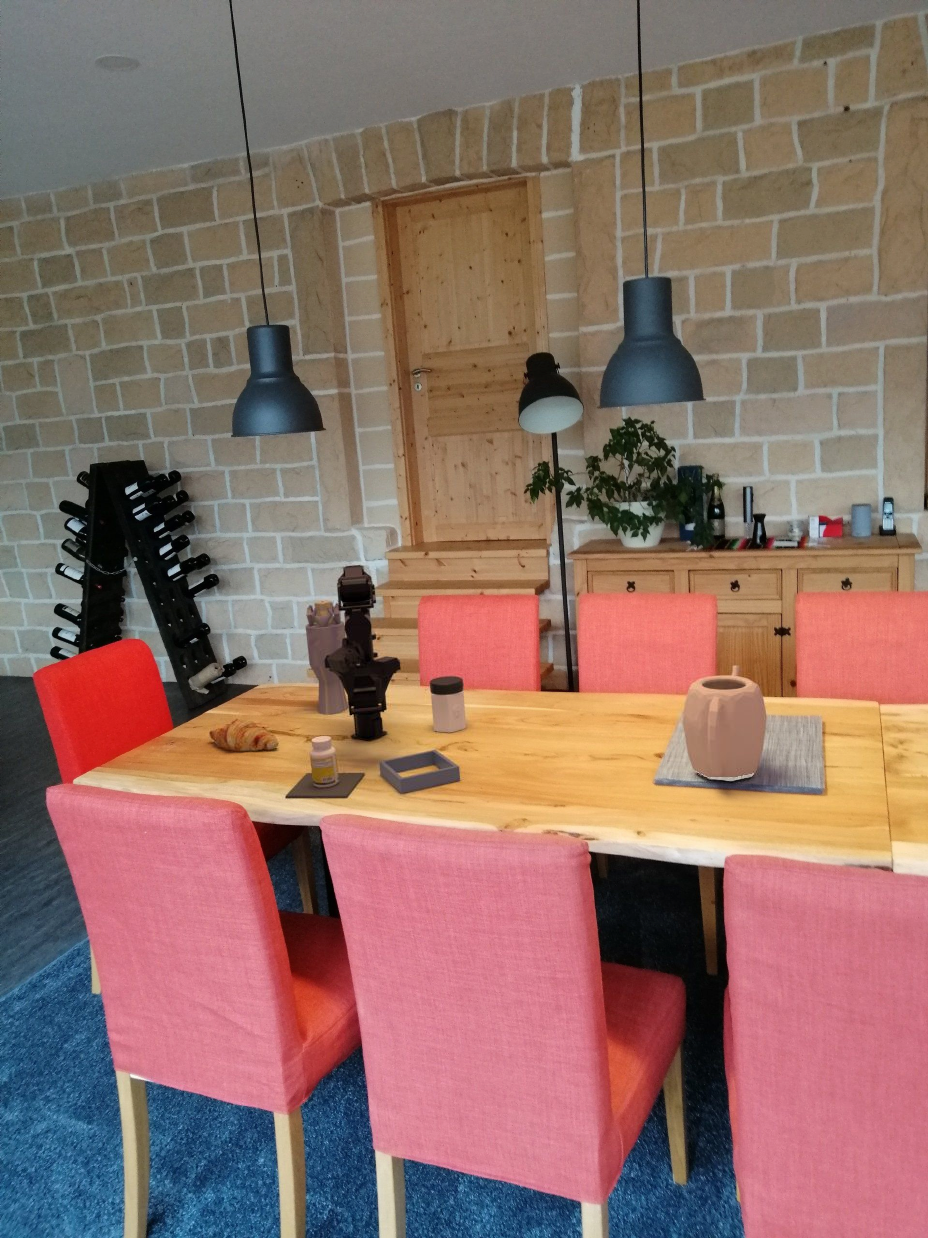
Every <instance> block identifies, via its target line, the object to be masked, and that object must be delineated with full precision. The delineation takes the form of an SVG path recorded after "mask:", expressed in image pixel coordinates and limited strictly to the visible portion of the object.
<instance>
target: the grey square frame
mask: <svg viewBox="0 0 928 1238" xmlns="http://www.w3.org/2000/svg"><path fill="white" fill-rule="evenodd" d="M378 763H379V775H380V776H381V777H382V778H383V779H385V781H386V782H387V783H388V784H390V785H391V786H392V787H393V788H394V789H395V790H396V791H397V792H399V793H400V794H401V795H402V794H407V793H410V792H411V793H412V792H415V791H419V790H424V789H429V788H433V787H438V786H442V785H446V784H451V783H455V782H459V781H461V771H460V770H461V769H460V766H459V765H457V764H456V763H455V762H454V761H452V760H451V759H450V758H448V757H447V756H445V755H444V754H442V753H441V752H440V751H438V750H437V749H432V750H426V751H421V752H417V753H411V754H408V755H403V756H399V757H394V758H390V759H389V758H388V759H384V760H379V761H378ZM433 765H435V766H436V767H437V768H438V769H436V770H431V771H427V772H421V773H417V774H413V775H408V776H404V777H402V776H401V775H400V774H399V773H401V772H402V773H403V772H406V771H410V770H414V769H419V768H420V769H421V768H424V767H429V766H433ZM437 785H438V786H437Z"/></svg>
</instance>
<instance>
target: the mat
mask: <svg viewBox="0 0 928 1238" xmlns="http://www.w3.org/2000/svg"><path fill="white" fill-rule="evenodd" d="M338 774H339V782H338V783H337V784H336V785H334V786H331V787H325V788H320V787H316V786H314V784H313V777H312V772H306V773H305V775H304V776H302V778H301V779H300V780H299V781H298V782H297V783H296V784H295V785H294V786H293V787H292V788H291V789H290V790H289V791H288V792H287V793H286V794H285V799H348V797H349V796H350V795H351V794H352V793H353V791H354V790H355V788H356V787H357V786H358V785H359V784H360V782H362V781H361V780H362V779H363V778H364V777H365V776H366V774H365V772H338Z"/></svg>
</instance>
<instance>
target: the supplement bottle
mask: <svg viewBox="0 0 928 1238" xmlns="http://www.w3.org/2000/svg"><path fill="white" fill-rule="evenodd" d="M311 746H312V749H311V750H310V752H309V758H310V767H311V773H312V777H313V784H314V786H316V787H320V788H325V787H331V786H334V785H336V784H337V783H338V782H339V774H338V773H339V767H338V757H337V751H336V748H335V746H334V747H333V746H332V738H331V737H330V736H329V735H321V736H316V737H313V738H312V739H311Z"/></svg>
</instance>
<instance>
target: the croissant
mask: <svg viewBox="0 0 928 1238" xmlns="http://www.w3.org/2000/svg"><path fill="white" fill-rule="evenodd" d="M208 734H209V737H210V739H211V740H212V741H213V742H214V744H215V745H217V747H220V748H222V749H224V750H226V751H227V750H228V751H233V752H252V751H253V752H256V751H262V750H265V751H268V750H269V751H270V750H273V749H276V748H277V747H279V741H278V738H276V736H275V735H274V734H272V733H271V732H270V731H269V730H268V729H267V728H266V727H265V726H261V725H260V726H259V725H257V724H256V723H255V722H253V721H251V720H247V719H237V718H236V719H235V720H233V721H231V722H230V723H228V724H225V726H222V727H220V728H219V727H218V728H216V729H215V730H211V731H209V732H208Z"/></svg>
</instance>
